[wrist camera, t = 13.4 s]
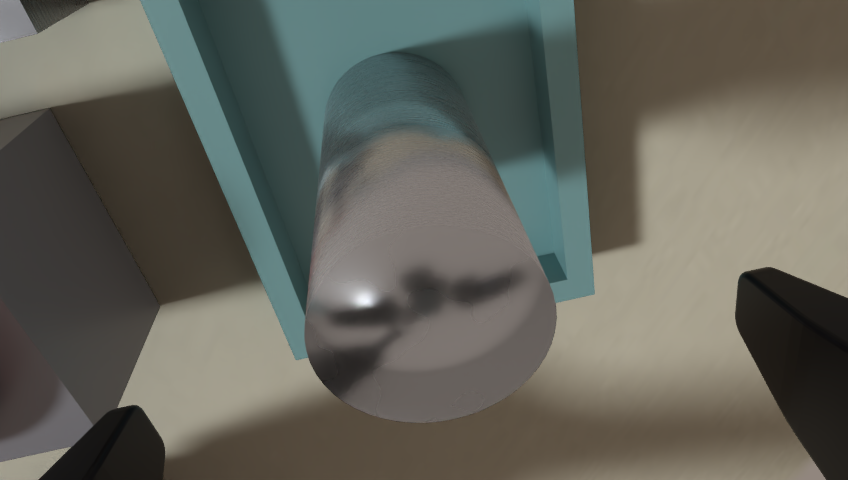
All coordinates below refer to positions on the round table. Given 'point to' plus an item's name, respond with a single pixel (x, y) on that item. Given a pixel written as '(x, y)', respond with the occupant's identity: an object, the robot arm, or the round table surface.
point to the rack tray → (312, 85)
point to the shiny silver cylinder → (418, 253)
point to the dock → (60, 294)
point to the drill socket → (33, 16)
